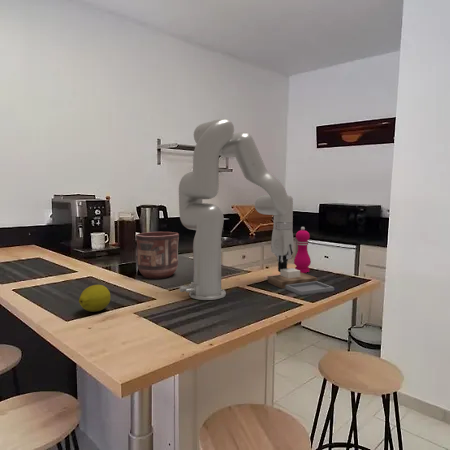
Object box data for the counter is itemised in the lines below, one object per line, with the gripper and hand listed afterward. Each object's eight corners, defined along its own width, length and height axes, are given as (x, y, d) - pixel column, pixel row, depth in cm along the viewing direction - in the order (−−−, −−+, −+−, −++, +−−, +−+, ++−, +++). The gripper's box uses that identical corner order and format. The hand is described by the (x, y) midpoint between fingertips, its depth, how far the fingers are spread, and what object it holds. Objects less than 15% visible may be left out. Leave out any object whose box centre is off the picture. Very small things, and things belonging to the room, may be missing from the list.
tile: (288, 278, 144) (288, 271, 144) (280, 275, 149) (280, 269, 149) (300, 277, 146) (300, 270, 146) (292, 274, 151) (292, 268, 151)
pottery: (175, 280, 151) (175, 236, 150) (132, 280, 152) (131, 236, 150) (181, 271, 169) (181, 231, 168) (142, 271, 169) (142, 231, 168)
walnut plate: (281, 288, 139) (281, 281, 138) (267, 282, 148) (267, 276, 147) (317, 284, 145) (317, 277, 145) (301, 278, 154) (301, 272, 154)
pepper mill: (291, 272, 166) (292, 227, 164) (296, 269, 172) (297, 225, 170) (308, 273, 163) (308, 227, 161) (312, 270, 169) (313, 226, 167)
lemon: (102, 304, 120) (101, 280, 119) (118, 309, 116) (117, 283, 115) (71, 313, 111) (70, 287, 111) (86, 319, 107) (85, 291, 106)
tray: (301, 295, 129) (301, 291, 129) (285, 289, 138) (285, 284, 138) (334, 291, 135) (334, 287, 134) (316, 284, 144) (316, 281, 144)
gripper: (265, 225, 156) (265, 268, 158) (285, 228, 142) (284, 276, 144) (280, 224, 159) (280, 267, 161) (301, 227, 145) (301, 274, 147)
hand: (282, 271), depth 152 cm, fingers closed
